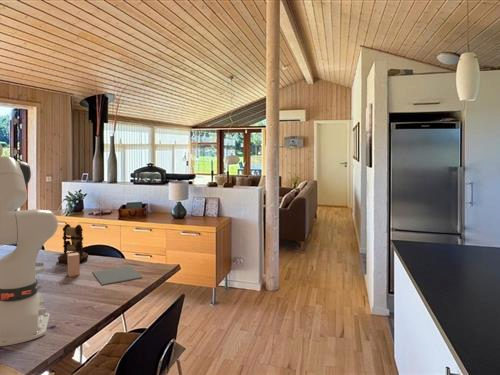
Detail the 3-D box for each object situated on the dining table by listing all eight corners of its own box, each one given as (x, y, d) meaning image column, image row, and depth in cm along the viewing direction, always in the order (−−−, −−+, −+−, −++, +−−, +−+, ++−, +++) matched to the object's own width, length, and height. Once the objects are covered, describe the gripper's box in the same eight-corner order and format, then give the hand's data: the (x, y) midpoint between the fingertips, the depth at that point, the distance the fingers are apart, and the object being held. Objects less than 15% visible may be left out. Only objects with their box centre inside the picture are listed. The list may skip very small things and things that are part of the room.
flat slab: (142, 278, 168) (142, 277, 168) (101, 285, 158) (101, 284, 158) (129, 266, 185) (129, 265, 185) (92, 272, 174) (92, 271, 174)
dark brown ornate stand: (93, 257, 200) (93, 222, 198) (77, 265, 185) (76, 227, 183) (69, 256, 202) (68, 221, 200) (51, 263, 187) (50, 226, 185)
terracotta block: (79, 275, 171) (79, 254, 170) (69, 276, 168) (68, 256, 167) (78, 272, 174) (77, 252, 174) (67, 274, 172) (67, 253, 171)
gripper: (8, 271, 147) (46, 266, 155) (7, 259, 164) (42, 254, 172) (9, 286, 148) (47, 280, 156) (8, 272, 165) (42, 267, 172)
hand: (44, 266), depth 164 cm, fingers open, 8 cm apart
